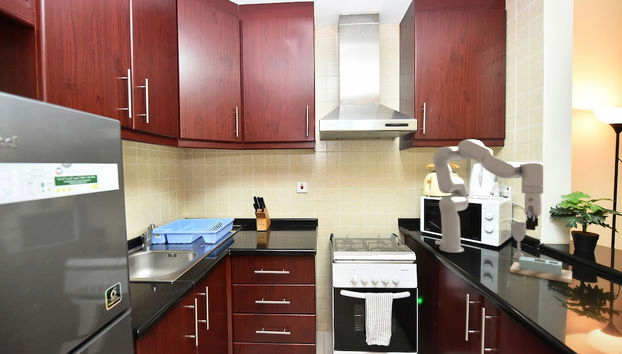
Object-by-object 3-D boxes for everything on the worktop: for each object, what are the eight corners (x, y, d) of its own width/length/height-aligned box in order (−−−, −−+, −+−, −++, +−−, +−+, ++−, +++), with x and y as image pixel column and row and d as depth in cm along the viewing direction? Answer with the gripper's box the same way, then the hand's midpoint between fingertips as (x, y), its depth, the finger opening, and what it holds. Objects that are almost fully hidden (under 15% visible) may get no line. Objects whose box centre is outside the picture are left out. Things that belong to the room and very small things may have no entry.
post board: (510, 271, 123) (509, 258, 123) (514, 264, 131) (514, 252, 131) (571, 283, 109) (571, 268, 109) (572, 274, 117) (571, 260, 117)
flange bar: (519, 268, 123) (518, 259, 123) (521, 264, 127) (521, 256, 127) (561, 275, 113) (561, 265, 113) (562, 271, 117) (561, 262, 117)
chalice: (522, 255, 144) (521, 221, 144) (531, 259, 138) (530, 224, 137) (507, 255, 145) (506, 221, 145) (515, 259, 138) (514, 224, 138)
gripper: (540, 191, 114) (540, 232, 114) (545, 188, 126) (544, 225, 127) (518, 191, 119) (518, 230, 120) (524, 188, 131) (524, 223, 132)
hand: (532, 227), depth 123 cm, fingers open, 9 cm apart
